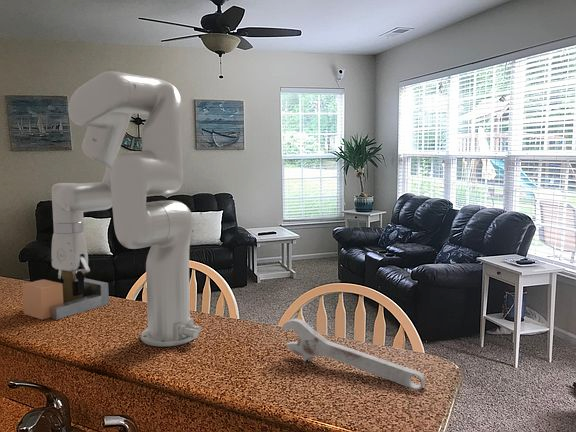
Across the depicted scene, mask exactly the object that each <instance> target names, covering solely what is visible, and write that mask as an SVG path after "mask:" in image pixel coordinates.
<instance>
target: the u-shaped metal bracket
mask: <svg viewBox="0 0 576 432" xmlns="http://www.w3.org/2000/svg"><path fill="white" fill-rule="evenodd" d="M109 294H110V293H109V282H105V281H101V280H95V279H91V278H86V277H85V280H84V294H83V297H84V298H80V299H77V300H73V301H70V302H66V303H63V304H59V305H56V306H52V307H50V312H51V317H50V319H51V318H53V319H52V320H55V319H56V321H58V319H59V320H61V318H62V319H65V318H67V316H68V317H71V316H74V314H75V315H77V313H78V314H80V313H83V312H86V311H87V312H88V311H89V310H93V309H96V308H100V307H102V306H103V307H104V306H105V305H106V306H107V305H108V304H110V299H109V298H110V296H109ZM64 317H65V318H64Z"/></svg>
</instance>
